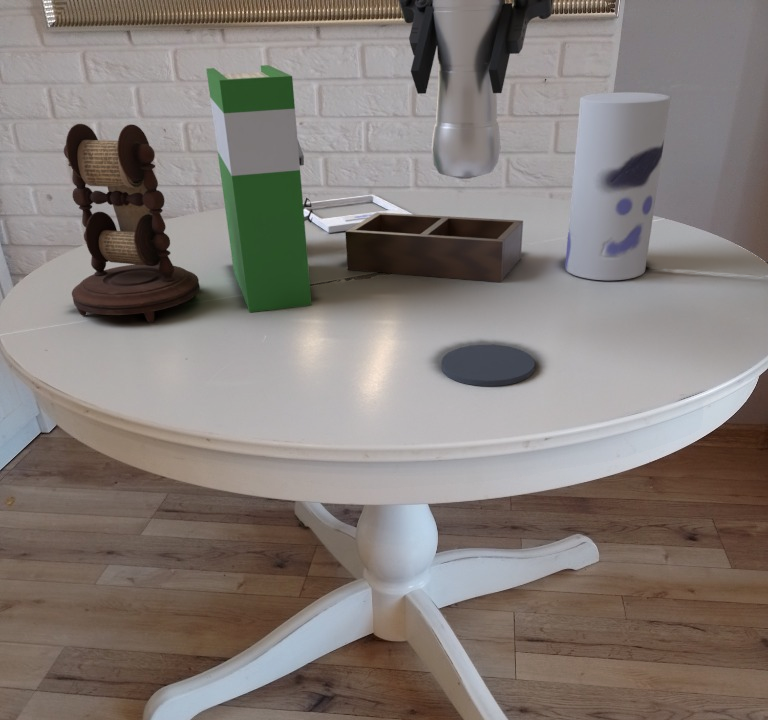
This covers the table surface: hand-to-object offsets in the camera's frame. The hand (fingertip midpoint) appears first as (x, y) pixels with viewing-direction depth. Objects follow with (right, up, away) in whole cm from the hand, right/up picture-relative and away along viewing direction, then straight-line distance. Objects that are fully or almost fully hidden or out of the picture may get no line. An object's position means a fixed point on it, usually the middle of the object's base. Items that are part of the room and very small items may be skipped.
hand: (456, 81), depth 68 cm
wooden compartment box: (+1, -4, +39) cm, 39 cm away
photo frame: (-11, +12, +64) cm, 66 cm away
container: (+22, -6, +34) cm, 41 cm away
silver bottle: (+2, -5, +8) cm, 9 cm away
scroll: (-36, -12, +28) cm, 47 cm away
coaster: (+4, -23, +9) cm, 25 cm away
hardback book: (-21, -9, +33) cm, 40 cm away
